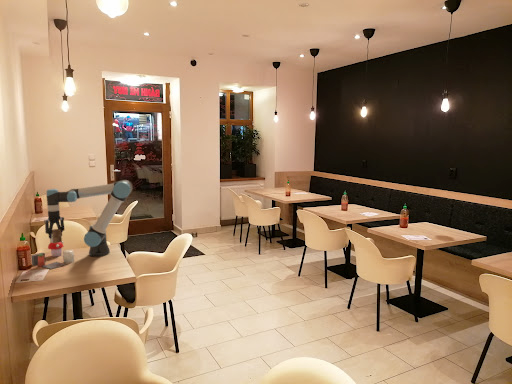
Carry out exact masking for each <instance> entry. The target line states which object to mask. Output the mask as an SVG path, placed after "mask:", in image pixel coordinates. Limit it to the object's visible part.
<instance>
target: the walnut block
mask: <svg viewBox="0 0 512 384" xmlns="http://www.w3.org/2000/svg"><path fill="white" fill-rule="evenodd" d="M52 234H53V243H58V242H62V241H63V240H62V239H63V237H62V236H61V230H60V229H58V228H53V229H52Z"/></svg>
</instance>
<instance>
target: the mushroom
mask: <svg viewBox="0 0 512 384" xmlns="http://www.w3.org/2000/svg"><path fill="white" fill-rule="evenodd" d="M64 243H65V242H64V241H63V240H62V242H58V243H51V242H50V241H49V244H48V246H47V249H48V250H50V253H51V257H55V258H57V257H61V256H63V249H62V248H64V247H65V246H64Z"/></svg>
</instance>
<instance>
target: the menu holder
mask: <svg viewBox="0 0 512 384" xmlns="http://www.w3.org/2000/svg"><path fill="white" fill-rule="evenodd" d="M39 254H43V256H44V260H45V261H46V254H45V252H39V253H36V254H32V255H31V256H30V257H31V265H32V266H39V265H38V256H39Z"/></svg>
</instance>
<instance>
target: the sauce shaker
mask: <svg viewBox="0 0 512 384" xmlns="http://www.w3.org/2000/svg"><path fill="white" fill-rule="evenodd" d="M38 254H39V253H38ZM44 265H46V259H45V260H44V256H43V254H39V256H38V265H37V266H38V268H39V267H40V268H43V267H42V266H44Z"/></svg>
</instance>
